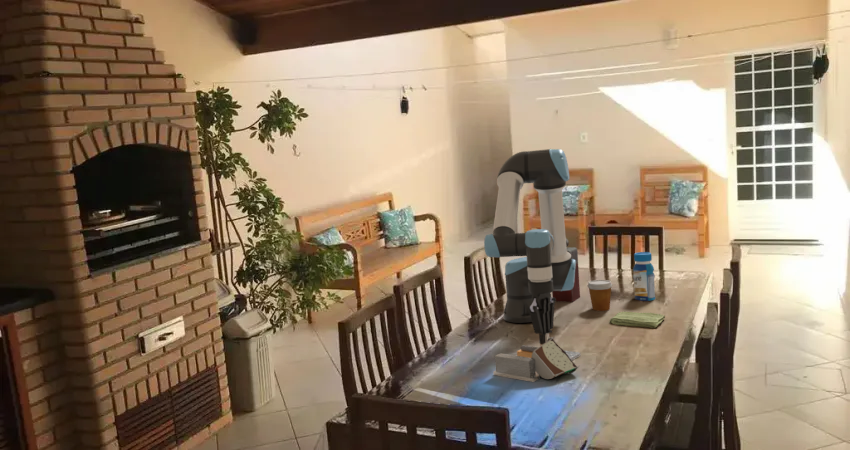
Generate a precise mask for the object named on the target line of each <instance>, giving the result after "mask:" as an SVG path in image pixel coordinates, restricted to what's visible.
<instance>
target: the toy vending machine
mask: <svg viewBox="0 0 850 450" xmlns="http://www.w3.org/2000/svg"><path fill="white" fill-rule="evenodd" d="M569 244H570V242H569V239H568V238H566V248H567V252H569V253H570V254H571V259H574V260H576V266H575V279H574V287H573V288H572V289H571V290H565V291H553V292H551V297H552V298H556V301H555V302H564V303H565V302H567V303H574V302H575V301H577V300H579V299H580V298H581V292H580V291H581V290H580V286H581V285H580V273H579V272H580V271H579V254H578V248H577V247H568V246H569Z"/></svg>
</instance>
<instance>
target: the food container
mask: <svg viewBox="0 0 850 450" xmlns="http://www.w3.org/2000/svg"><path fill="white" fill-rule="evenodd" d="M554 338H555V336H554V337H553V336H551V337H549V338H548V340H547V342H546V343H544V344H543V345H541V346H540V345H539V347H538V348H537V349H536V350H534V351H533V353H532V358H535V371H536V372H537V373H538V374H539V375H540V376H541V377H542V378H541V379H545V380H551V379H554V378H556V377H560V376H562V375H563V374H573V373H575V372H576V371H577V370H578V369H579V367H580V365H578V366H577V365H576V364H575V363H574V362H573V360H572V361H571V359H570V358H569V356H568V355H567V354H566V352H565V351H566V350H565V351H564V349H563V348H562V347H560V346H559V345H558V343H557V342H556V341H555V340H554Z"/></svg>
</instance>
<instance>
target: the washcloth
mask: <svg viewBox="0 0 850 450" xmlns="http://www.w3.org/2000/svg"><path fill="white" fill-rule="evenodd" d="M664 319H666V315H664V314H661V313H655V312H634V311H619V312H618V313H616V314H615V315H614V316H613V317H611V318H610V319H609V324H612V325H616V326H624V327H625V326H628V327H643V328H653V329H656V328H657V327H658V326H659V324H661V323H662V322H663V321H664Z"/></svg>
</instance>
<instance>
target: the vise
mask: <svg viewBox="0 0 850 450" xmlns="http://www.w3.org/2000/svg"><path fill="white" fill-rule="evenodd" d="M563 350H564V349H563ZM564 351H565V352H566V354H567V355H568V356H569V358H570V359H571V361H572V362H573V361H574V360H576V359H577V358H579V357H581V355H582V354H581V353H582V352H579V351H572V350H564ZM494 363H495V364H494V365H495V370H493V373H492V374H493V376H498V377H503V378H509V379H515V380H521V381H527V382H531V383H535V382H536V381H538V380H540V379H543V378H542V377H541V376H540V375H539V374H538V373H537V372H536V371H535V358H528V357H522V356H517V355H515V354H507V353H501V352H500V353H498V354H496V355H494Z"/></svg>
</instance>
